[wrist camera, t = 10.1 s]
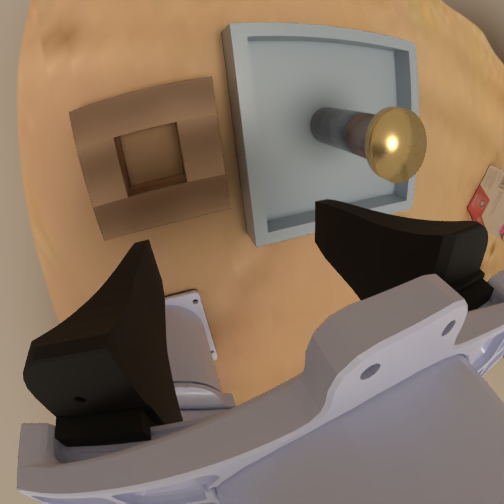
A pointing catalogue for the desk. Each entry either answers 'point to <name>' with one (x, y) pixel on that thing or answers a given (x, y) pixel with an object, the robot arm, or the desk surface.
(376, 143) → the lock pin
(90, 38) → the desk surface
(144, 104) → the brown square socket base
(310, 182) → the tray
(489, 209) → the ink cartridge box
